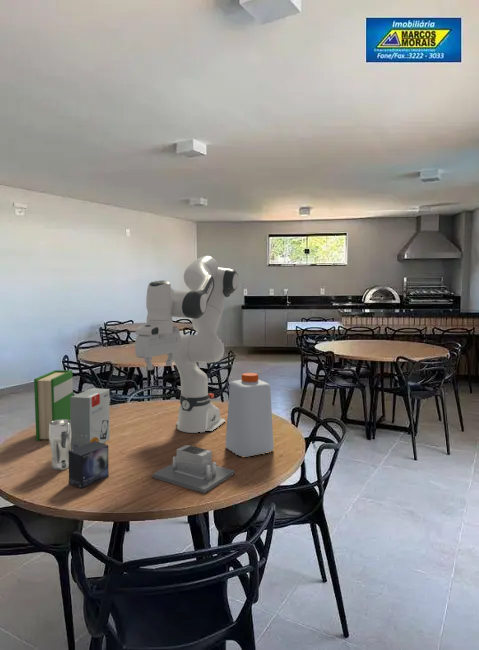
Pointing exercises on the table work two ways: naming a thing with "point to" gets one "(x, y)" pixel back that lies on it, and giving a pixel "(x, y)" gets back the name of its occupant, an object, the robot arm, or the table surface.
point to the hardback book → (52, 400)
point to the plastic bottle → (249, 417)
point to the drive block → (193, 460)
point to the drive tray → (194, 477)
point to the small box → (88, 464)
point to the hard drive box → (90, 417)
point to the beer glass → (60, 443)
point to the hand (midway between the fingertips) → (159, 367)
